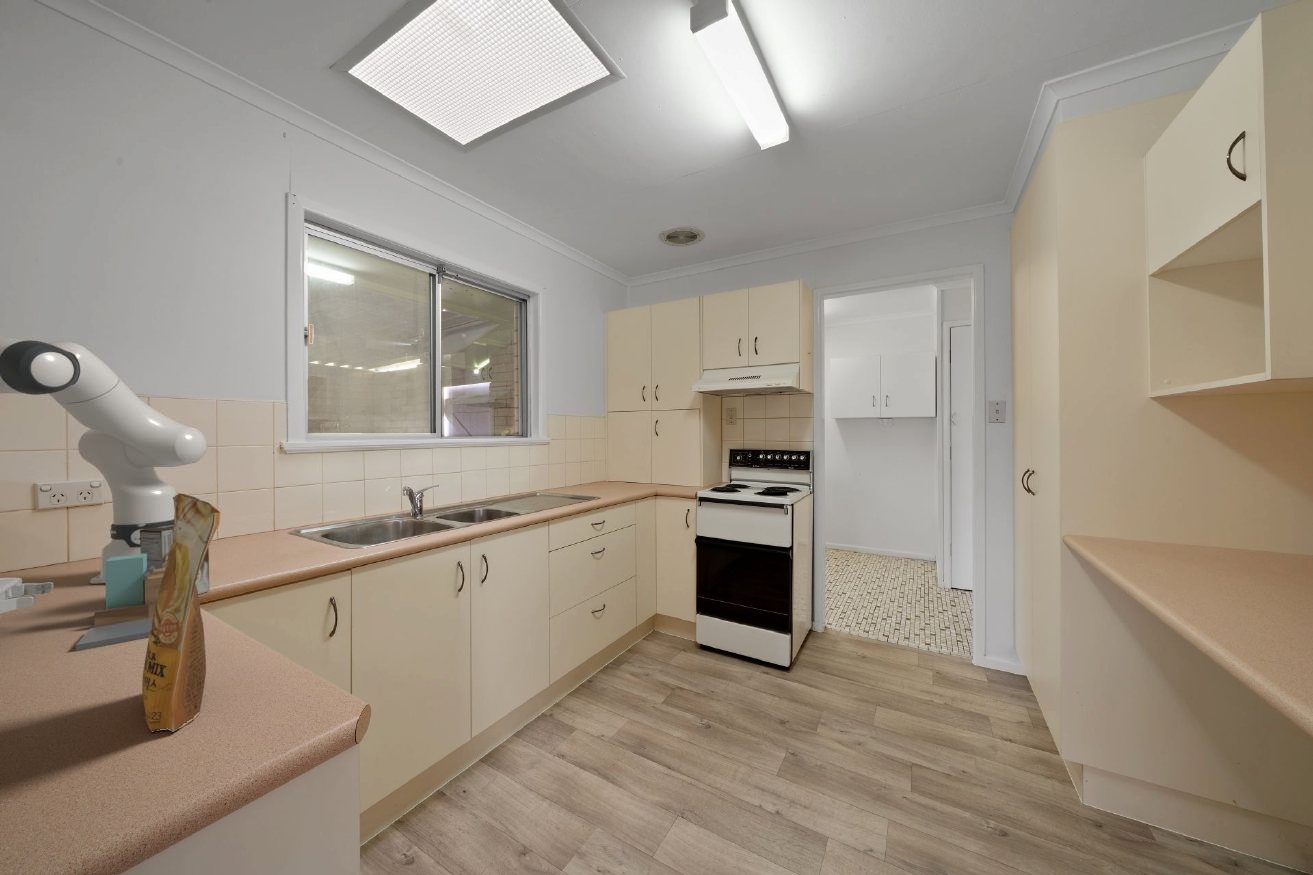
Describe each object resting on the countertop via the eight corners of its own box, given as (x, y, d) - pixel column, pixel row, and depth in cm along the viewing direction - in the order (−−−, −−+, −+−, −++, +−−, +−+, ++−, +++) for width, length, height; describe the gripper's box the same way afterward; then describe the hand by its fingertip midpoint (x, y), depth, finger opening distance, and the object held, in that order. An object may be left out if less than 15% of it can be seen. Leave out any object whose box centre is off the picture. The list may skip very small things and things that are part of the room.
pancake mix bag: (205, 672, 73) (204, 490, 73) (223, 722, 60) (221, 502, 60) (140, 689, 68) (139, 494, 68) (145, 748, 55) (143, 508, 55)
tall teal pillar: (110, 617, 95) (110, 557, 95) (147, 611, 98) (146, 553, 98) (105, 623, 92) (105, 561, 92) (143, 616, 95) (143, 557, 95)
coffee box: (189, 589, 112) (188, 521, 112) (210, 591, 111) (210, 522, 110) (139, 603, 103) (138, 529, 103) (162, 605, 102) (161, 530, 101)
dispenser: (106, 614, 96) (106, 571, 96) (186, 601, 104) (185, 561, 104) (94, 628, 89) (94, 581, 89) (180, 613, 97) (180, 570, 97)
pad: (90, 633, 87) (90, 628, 87) (160, 621, 93) (160, 616, 93) (75, 650, 80) (75, 644, 80) (152, 636, 86) (152, 630, 86)
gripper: (-128, 610, 72) (21, 591, 80) (-58, 578, 87) (60, 564, 96) (-127, 652, 72) (22, 628, 81) (-57, 612, 87) (61, 596, 96)
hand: (43, 593), depth 88 cm, fingers open, 8 cm apart
